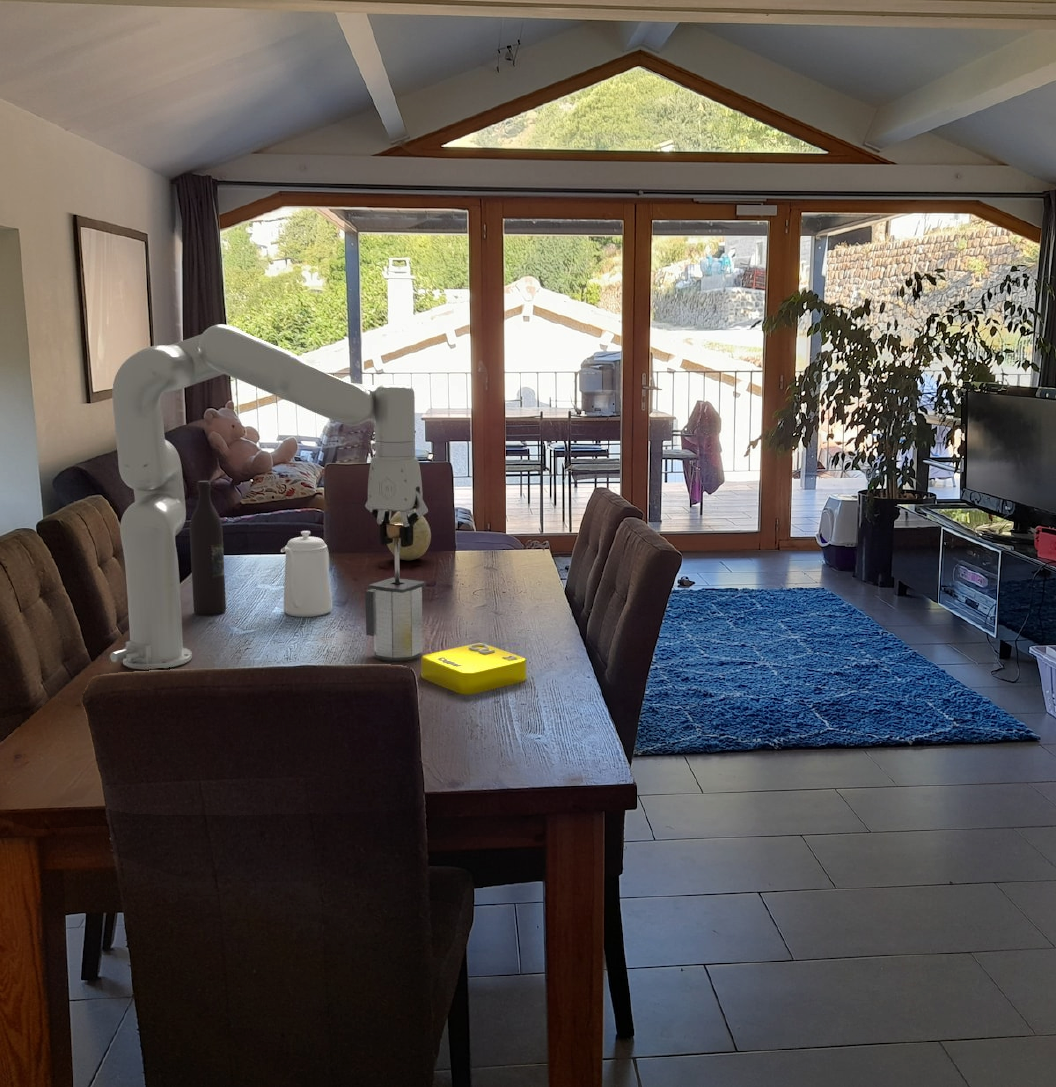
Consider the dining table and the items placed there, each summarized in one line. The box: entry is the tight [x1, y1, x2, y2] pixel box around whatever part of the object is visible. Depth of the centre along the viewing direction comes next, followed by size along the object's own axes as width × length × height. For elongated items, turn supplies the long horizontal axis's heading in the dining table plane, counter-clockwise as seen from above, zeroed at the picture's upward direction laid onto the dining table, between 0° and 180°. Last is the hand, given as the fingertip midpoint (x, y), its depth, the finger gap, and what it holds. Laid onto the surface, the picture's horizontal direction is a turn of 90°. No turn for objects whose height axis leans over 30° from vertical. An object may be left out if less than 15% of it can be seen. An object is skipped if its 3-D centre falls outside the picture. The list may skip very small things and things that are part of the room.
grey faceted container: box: [364, 577, 427, 663], centre depth 212 cm, size 9×12×15 cm
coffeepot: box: [280, 530, 333, 618], centre depth 245 cm, size 11×25×19 cm, turn 168°
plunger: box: [386, 522, 403, 585], centre depth 210 cm, size 7×7×14 cm
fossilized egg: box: [386, 509, 432, 561], centre depth 306 cm, size 13×13×15 cm
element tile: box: [420, 642, 527, 695], centre depth 199 cm, size 15×15×5 cm
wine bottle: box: [189, 480, 227, 617], centre depth 243 cm, size 7×7×30 cm
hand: (396, 544), depth 209 cm, fingers closed on plunger, 4 cm apart
